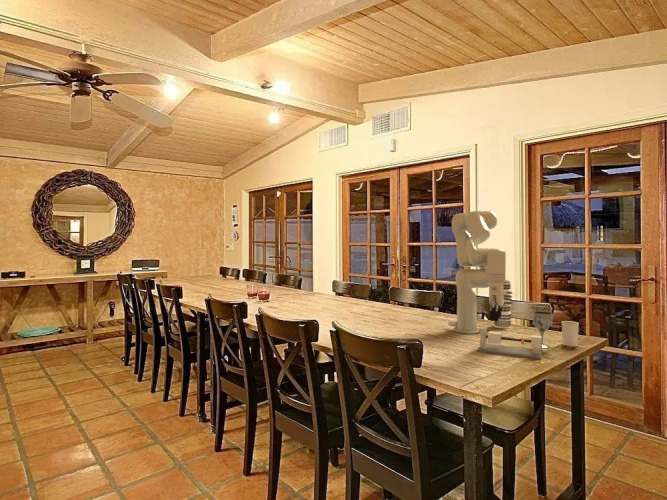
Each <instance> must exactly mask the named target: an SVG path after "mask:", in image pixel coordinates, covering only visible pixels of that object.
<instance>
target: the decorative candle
mask: <svg viewBox="0 0 667 500" xmlns="http://www.w3.org/2000/svg"><path fill="white" fill-rule="evenodd" d="M511 287H512V283H511V281H510V280H508V279H505V282H503V290H504V304H503V305H502V306H501V317H500V318H499V317H498V321H493V324H494V325H493V326H494V328H496V329H503V330H505V329H507V330H508V329H511V328H512V327H511V326H512V320H511V319H512V317H511V316H512V314H511V313H512V312H511V307H512V302H511V301H513V299H512V298H513V296H512V295H513V292H512V288H511Z"/></svg>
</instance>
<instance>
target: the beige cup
mask: <svg viewBox="0 0 667 500" xmlns="http://www.w3.org/2000/svg"><path fill="white" fill-rule="evenodd" d="M578 335H579V322H577V321H571V320H570V321H568V320H564V321H561V337H562V338H561V341H562V343H561V344H562V345H563V346H565V345H566V347H577V346H578V338H579V336H578Z"/></svg>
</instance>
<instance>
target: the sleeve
mask: <svg viewBox="0 0 667 500" xmlns="http://www.w3.org/2000/svg"><path fill="white" fill-rule="evenodd" d="M487 335H488V338H487V344H496V345H501V344H502V342H503V341H502V340H501V337H503V336H502V335H503V334H502V332H501V331H491V330H489V331H487Z"/></svg>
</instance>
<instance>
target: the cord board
mask: <svg viewBox="0 0 667 500" xmlns="http://www.w3.org/2000/svg"><path fill="white" fill-rule="evenodd" d="M479 333H480V337H479V338H480V340H479V347H478V348H477V353H482V354H483V353H485V354H491V355H500V356H501V355H502V356H510V357H516V358H525V359H531V360H532V359H534V360H542V355H543V350H542V348H541V335H534V334H532V335H531V338H530V339H528V338H525V337H526V336H521V338H520V337H519V338H516V337H507V336H502V337H501V340H503V341H512V342H521V345H525V343H527V344H528V343H530V347H529V348H528V347H519V346H509V345H501V344H495V343H488V327H486V326H485V327H484V326H482V327H481V328H480V332H479Z"/></svg>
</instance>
